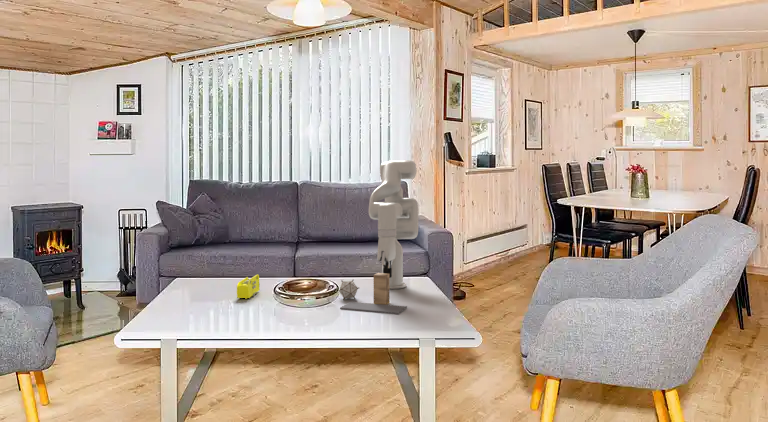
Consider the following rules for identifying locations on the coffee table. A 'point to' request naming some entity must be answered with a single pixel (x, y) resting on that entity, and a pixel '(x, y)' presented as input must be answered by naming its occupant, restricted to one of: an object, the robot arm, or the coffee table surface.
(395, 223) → the robot arm
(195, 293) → the coffee table surface
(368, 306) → the mat
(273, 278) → the coffee table surface
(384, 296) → the oak block
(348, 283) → the game die
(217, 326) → the coffee table surface
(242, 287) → the yellow toy chassis
